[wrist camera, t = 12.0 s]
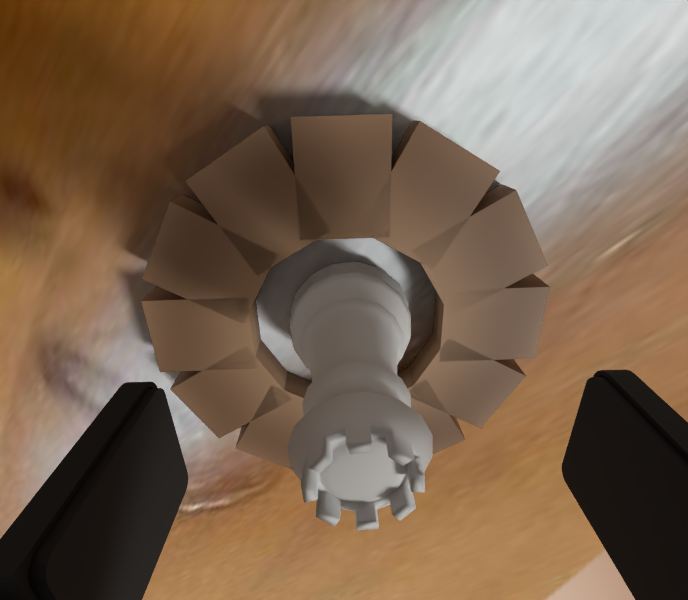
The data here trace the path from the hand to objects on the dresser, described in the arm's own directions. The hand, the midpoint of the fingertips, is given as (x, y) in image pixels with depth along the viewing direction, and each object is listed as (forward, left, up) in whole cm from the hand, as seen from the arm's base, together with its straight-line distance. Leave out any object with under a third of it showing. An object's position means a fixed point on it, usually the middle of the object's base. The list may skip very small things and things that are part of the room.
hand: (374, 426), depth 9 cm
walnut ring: (0, +1, -7) cm, 7 cm away
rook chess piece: (0, 0, -7) cm, 7 cm away
